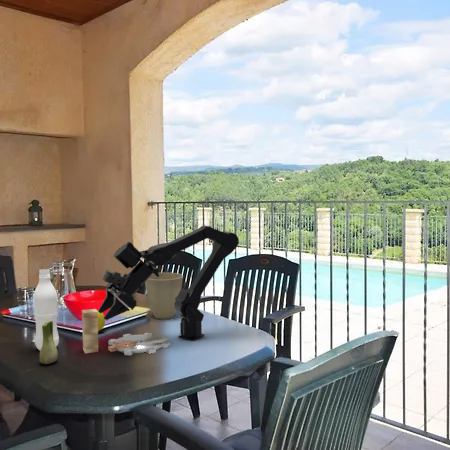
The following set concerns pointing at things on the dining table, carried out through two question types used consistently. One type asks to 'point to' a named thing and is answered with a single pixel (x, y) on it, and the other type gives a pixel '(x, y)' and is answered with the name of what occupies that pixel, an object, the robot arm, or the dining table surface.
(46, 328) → the fennel bulb
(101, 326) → the lemon
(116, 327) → the dining table surface
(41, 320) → the water bottle
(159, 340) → the sprocket plate
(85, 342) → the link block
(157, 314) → the plant pot
